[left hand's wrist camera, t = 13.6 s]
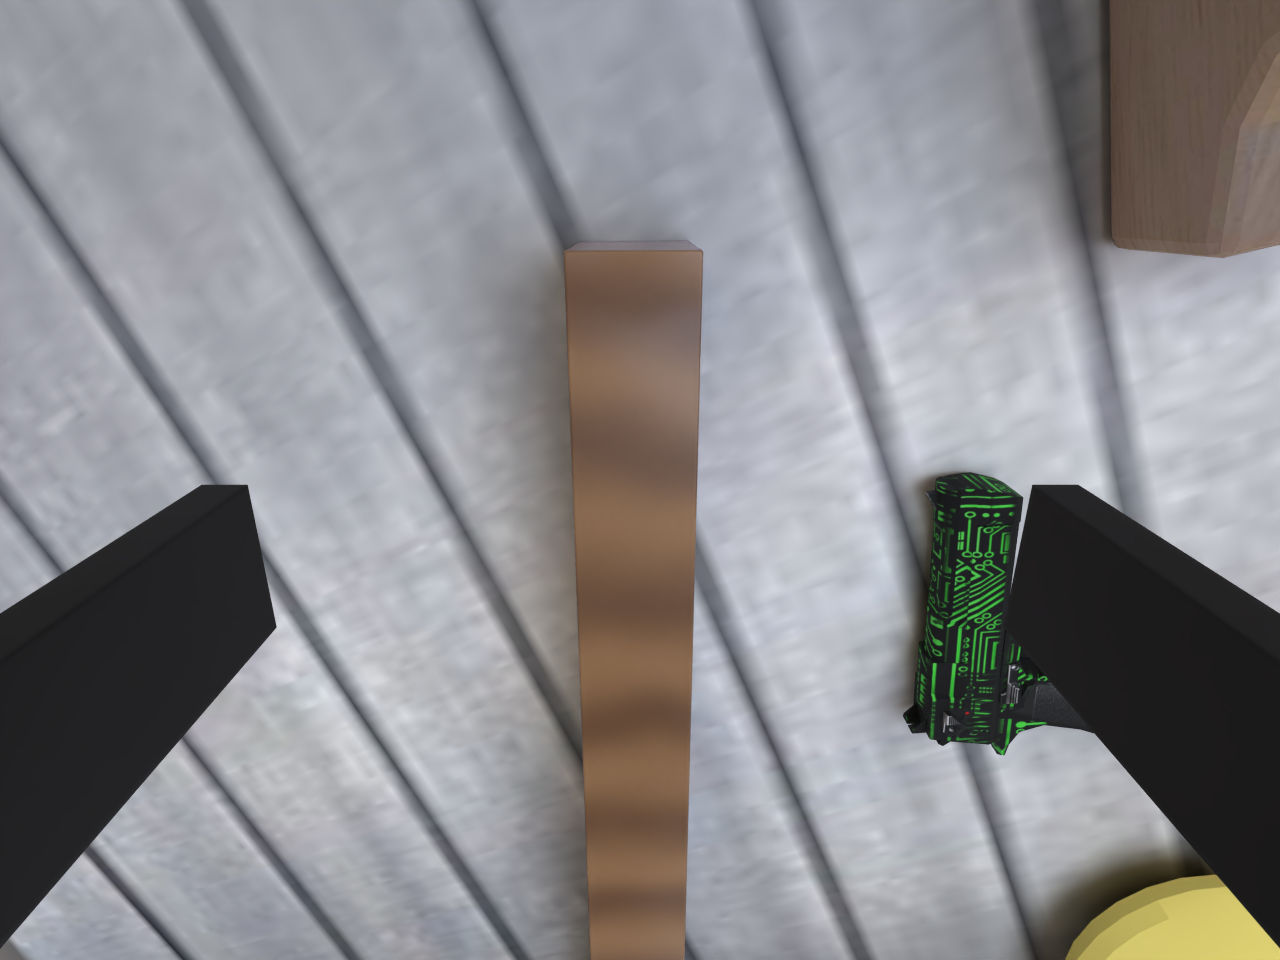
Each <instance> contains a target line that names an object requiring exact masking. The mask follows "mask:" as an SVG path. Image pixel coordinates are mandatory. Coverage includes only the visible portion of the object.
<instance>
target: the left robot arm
mask: <svg viewBox="0 0 1280 960" xmlns="http://www.w3.org/2000/svg"><path fill="white" fill-rule="evenodd" d="M275 629H276V622H275V617H274V612H273V607H272V602H271V598H270V593H269V588H268V583H267V578H266V573H265V568H264V563H263V558H262V553H261V548H260V543H259V539H258V534H257V529H256V524H255V519H254V514H253V509H252V504H251V499H250V494H249V489H248V485H201V486H199V487H198V488H196V489H195V490H193V491H191V492H190V493H188V494H187V495H185V496H184V497H182V498H180V499H179V500H177V501H176V502H174V503H173V504H171V505H169V506H168V507H166V508H165V509H163V510H162V511H160V512H159V513H157V514H155V515H154V516H152V517H151V518H149V519H148V520H146V521H144V522H143V523H141V524H140V525H138V526H137V527H135V528H133V529H132V530H130V531H129V532H127V533H126V534H124V535H123V536H121V537H119V538H118V539H116V540H115V541H113V542H112V543H110V544H108V545H107V546H105V547H104V548H102V549H101V550H99V551H97V552H96V553H94V554H93V555H91V556H90V557H88V558H87V559H85V560H83V561H82V562H80V563H79V564H77V565H76V566H74V567H72V568H71V569H69V570H68V571H66V572H65V573H63V574H61V575H60V576H58V577H57V578H55V579H54V580H52V581H51V582H49V583H47V584H46V585H44V586H43V587H41V588H40V589H38V590H36V591H35V592H33V593H32V594H30V595H29V596H27V597H25V598H24V599H22V600H21V601H19V602H18V603H16V604H15V605H13V606H11V607H10V608H8V609H7V610H5V611H4V612H2V613H0V948H1V947H2V946H3V945H4V944H5V942H6V941H7V940H8V939H9V938H10V937H11V935H12V934H13V933H14V932H15V931H16V930H17V929H18V927H19V926H20V925H21V924H22V923H23V922H24V920H25V919H26V918H27V917H28V916H29V915H30V913H31V912H32V911H33V910H34V909H35V908H36V906H37V905H38V904H39V903H40V902H41V901H42V899H43V898H44V897H45V896H46V895H47V894H48V892H49V891H50V890H51V889H52V888H53V887H54V886H55V884H56V883H57V882H58V881H59V880H60V879H61V877H62V876H63V875H64V874H65V873H66V872H67V870H68V869H69V868H70V867H71V866H72V865H73V863H74V862H75V861H76V860H77V859H78V858H79V856H80V855H81V854H82V853H83V852H84V851H85V849H86V848H87V847H88V846H89V845H90V844H91V842H92V841H93V840H94V839H95V838H96V837H97V836H98V834H99V833H100V832H101V831H102V830H103V829H104V827H105V826H106V825H107V824H108V823H109V822H110V820H111V819H112V818H113V817H114V816H115V815H116V813H117V812H118V811H119V810H120V809H121V808H122V806H123V805H124V804H125V803H126V802H127V801H128V799H129V798H130V797H131V796H132V795H133V794H134V793H135V791H136V790H137V789H138V788H139V787H140V786H141V784H142V783H143V782H144V781H145V780H146V779H147V777H148V776H149V775H150V774H151V773H152V772H153V770H154V769H155V768H156V767H157V766H158V765H159V763H160V762H161V761H162V760H163V759H164V758H165V756H166V755H167V754H168V753H169V752H170V751H171V749H172V748H173V747H174V746H175V745H176V744H177V743H178V741H179V740H180V739H181V738H182V737H183V736H184V734H185V733H186V732H187V731H188V730H189V729H190V727H191V726H192V725H193V724H194V723H195V722H196V720H197V719H198V718H199V717H200V716H201V715H202V713H203V712H204V711H205V710H206V709H207V708H208V706H209V705H210V704H211V703H212V702H213V701H214V700H215V698H216V697H217V696H218V695H219V694H220V693H221V691H222V690H223V689H224V688H225V687H226V686H227V684H228V683H229V682H230V681H231V680H232V679H233V677H234V676H235V675H236V674H237V673H238V672H239V670H240V669H241V668H242V667H243V666H244V665H245V663H246V662H247V661H248V660H249V659H250V658H251V656H252V655H253V654H254V653H255V652H256V651H257V650H258V648H259V647H260V646H261V645H262V644H263V643H264V641H265V640H266V639H267V638H268V637H269V636H270V634H271V633H272V632H273V631H274V630H275ZM1004 629H1005V630H1006V631H1007V632H1008V633H1009V634H1010V636H1011V637H1012V638H1013V639H1014V640H1015V641H1016V643H1017V644H1018V645H1019V646H1020V647H1021V648H1022V650H1023V651H1024V652H1025V653H1026V654H1027V655H1028V656H1029V658H1030V659H1031V660H1032V661H1033V662H1034V663H1035V665H1036V666H1037V667H1038V668H1039V669H1040V670H1041V672H1042V673H1043V674H1044V675H1045V676H1046V677H1047V679H1048V680H1049V681H1050V682H1051V683H1052V684H1053V686H1054V687H1055V688H1056V689H1057V690H1058V691H1059V693H1060V694H1061V695H1062V696H1063V697H1064V698H1065V700H1066V701H1067V702H1068V703H1069V704H1070V705H1071V706H1072V708H1073V709H1074V710H1075V711H1076V712H1077V713H1078V715H1079V716H1080V717H1081V718H1082V719H1083V720H1084V722H1085V723H1086V724H1087V725H1088V726H1089V727H1090V729H1091V730H1092V731H1093V732H1094V733H1095V734H1096V736H1097V737H1098V738H1099V739H1100V740H1101V741H1102V743H1103V744H1104V745H1105V746H1106V747H1107V748H1108V749H1109V751H1110V752H1111V753H1112V754H1113V755H1114V756H1115V758H1116V759H1117V760H1118V761H1119V762H1120V763H1121V765H1122V766H1123V767H1124V768H1125V769H1126V770H1127V772H1128V773H1129V774H1130V775H1131V776H1132V777H1133V779H1134V780H1135V781H1136V782H1137V783H1138V784H1139V786H1140V787H1141V788H1142V789H1143V790H1144V791H1145V793H1146V794H1147V795H1148V796H1149V797H1150V798H1151V799H1152V801H1153V802H1154V803H1155V804H1156V805H1157V806H1158V808H1159V809H1160V810H1161V811H1162V812H1163V813H1164V815H1165V816H1166V817H1167V818H1168V819H1169V820H1170V822H1171V823H1172V824H1173V825H1174V826H1175V827H1176V829H1177V830H1178V831H1179V832H1180V833H1181V834H1182V836H1183V837H1184V838H1185V839H1186V840H1187V841H1188V842H1189V844H1190V845H1191V846H1192V847H1193V848H1194V849H1195V851H1196V852H1197V853H1198V854H1199V855H1200V856H1201V858H1202V859H1203V860H1204V861H1205V862H1206V863H1207V865H1208V866H1209V867H1210V868H1211V869H1212V870H1213V872H1214V873H1215V874H1216V875H1217V876H1218V877H1219V879H1220V880H1221V881H1222V882H1223V883H1224V884H1225V886H1226V887H1227V888H1228V889H1229V890H1230V891H1231V892H1232V894H1233V895H1234V896H1235V897H1236V898H1237V899H1238V901H1239V902H1240V903H1241V904H1242V905H1243V906H1244V908H1245V909H1246V910H1247V911H1248V912H1249V913H1250V915H1251V916H1252V917H1253V918H1254V919H1255V920H1256V922H1257V923H1258V924H1259V925H1260V926H1261V927H1262V929H1263V930H1264V931H1265V932H1266V933H1267V934H1268V935H1269V937H1270V938H1271V939H1272V940H1273V941H1274V942H1275V944H1276V945H1277V946H1278V947H1279V948H1280V613H1278V612H1276V611H1275V610H1273V609H1272V608H1270V607H1269V606H1267V605H1265V604H1264V603H1262V602H1261V601H1259V600H1258V599H1256V598H1255V597H1253V596H1251V595H1250V594H1248V593H1247V592H1245V591H1244V590H1242V589H1240V588H1239V587H1237V586H1236V585H1234V584H1233V583H1231V582H1229V581H1228V580H1226V579H1225V578H1223V577H1222V576H1220V575H1219V574H1217V573H1215V572H1214V571H1212V570H1211V569H1209V568H1208V567H1206V566H1204V565H1203V564H1201V563H1200V562H1198V561H1197V560H1195V559H1193V558H1192V557H1190V556H1189V555H1187V554H1186V553H1184V552H1183V551H1181V550H1179V549H1178V548H1176V547H1175V546H1173V545H1172V544H1170V543H1168V542H1167V541H1165V540H1164V539H1162V538H1161V537H1159V536H1157V535H1156V534H1154V533H1153V532H1151V531H1150V530H1148V529H1147V528H1145V527H1143V526H1142V525H1140V524H1139V523H1137V522H1136V521H1134V520H1132V519H1131V518H1129V517H1128V516H1126V515H1125V514H1123V513H1121V512H1120V511H1118V510H1117V509H1115V508H1114V507H1112V506H1111V505H1109V504H1107V503H1106V502H1104V501H1103V500H1101V499H1100V498H1098V497H1096V496H1095V495H1093V494H1092V493H1090V492H1089V491H1087V490H1085V489H1084V488H1082V487H1081V486H1079V485H1032V489H1031V494H1030V499H1029V504H1028V509H1027V514H1026V519H1025V524H1024V529H1023V534H1022V539H1021V543H1020V548H1019V553H1018V558H1017V563H1016V568H1015V573H1014V578H1013V583H1012V588H1011V593H1010V598H1009V602H1008V607H1007V612H1006V617H1005V622H1004Z"/></svg>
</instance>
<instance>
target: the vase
mask: <svg viewBox="0 0 1280 960" xmlns="http://www.w3.org/2000/svg"><path fill="white" fill-rule="evenodd" d="M1065 960H1280V948H1279V947H1278V946H1277V945H1276V944H1275V942H1274V941H1273V940H1272V939H1271V938H1270V937H1269V935H1268V934H1267V933H1266V932H1265V931H1264V930H1263V929H1262V927H1261V926H1260V925H1259V924H1258V923H1257V922H1256V920H1255V919H1254V918H1253V917H1252V916H1251V915H1250V913H1249V912H1248V911H1247V910H1246V909H1245V908H1244V906H1243V905H1242V904H1241V903H1240V902H1239V901H1238V899H1237V898H1236V897H1235V896H1234V895H1233V894H1232V892H1231V891H1230V890H1229V889H1228V888H1227V887H1226V886H1225V884H1224V883H1223V882H1222V881H1221V880H1220V879H1219V877H1218V876H1217V875H1206V876H1196V877H1186V878H1179V879H1175V880H1172V881H1168V882H1165V883H1161V884H1158V885H1154V886H1150V887H1147V888H1145V889H1143V890H1141V891H1139V892H1137V893H1135V894H1132V895H1130V896H1128V897H1126V898H1124V899H1122V900H1120V901H1118V902H1116V903H1115V904H1113V905H1112V906H1111V907H1109V908H1108V909H1107V910H1105V911H1104V912H1103V913H1101V914H1100V915H1099V916H1097V917H1096V918H1095V919H1093V920H1092V921H1091V922H1090V923H1089V924H1088V926H1087V927H1086V928H1085V929H1084V930H1083V931H1082V932H1081V934H1080V935H1079V936H1078V937H1077V938H1076V939H1075V941H1074V942H1073V944H1072V946H1071V948H1070V950H1069V952H1068V955H1067V957H1066V959H1065Z"/></svg>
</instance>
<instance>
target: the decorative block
mask: <svg viewBox="0 0 1280 960" xmlns="http://www.w3.org/2000/svg"><path fill="white" fill-rule="evenodd" d="M1109 18H1110V127H1111V236H1112V238H1113V241H1114V244H1115V245H1116V246H1117V247H1119V248H1124V249H1131V250H1142V251H1153V252H1164V253H1175V254H1185V255H1196V256H1207V257H1218V258H1224V257H1228V256H1233V255H1237V254H1241V253H1246V252H1250V251H1254V250H1259V249H1263V248H1267V247H1272V246H1276V245H1280V0H1109Z"/></svg>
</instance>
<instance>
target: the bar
mask: <svg viewBox="0 0 1280 960" xmlns="http://www.w3.org/2000/svg"><path fill="white" fill-rule="evenodd" d="M564 273H565V300H566V326H567V353H568V379H569V405H570V432H571V458H572V485H573V511H574V538H575V564H576V591H577V617H578V644H579V670H580V697H581V723H582V750H583V776H584V803H585V829H586V855H587V882H588V908H589V935H590V960H684V956H685V918H686V881H687V843H688V805H689V768H690V730H691V692H692V654H693V617H694V579H695V541H696V504H697V466H698V428H699V391H700V353H701V315H702V278H703V251H702V250H701V249H699V248H698V247H697V246H695V245H694V244H692V243H691V242H689V241H581V242H579V243H577V244H575V245H574V246H572V247H570V248H569V249H567V250H565V251H564Z"/></svg>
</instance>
